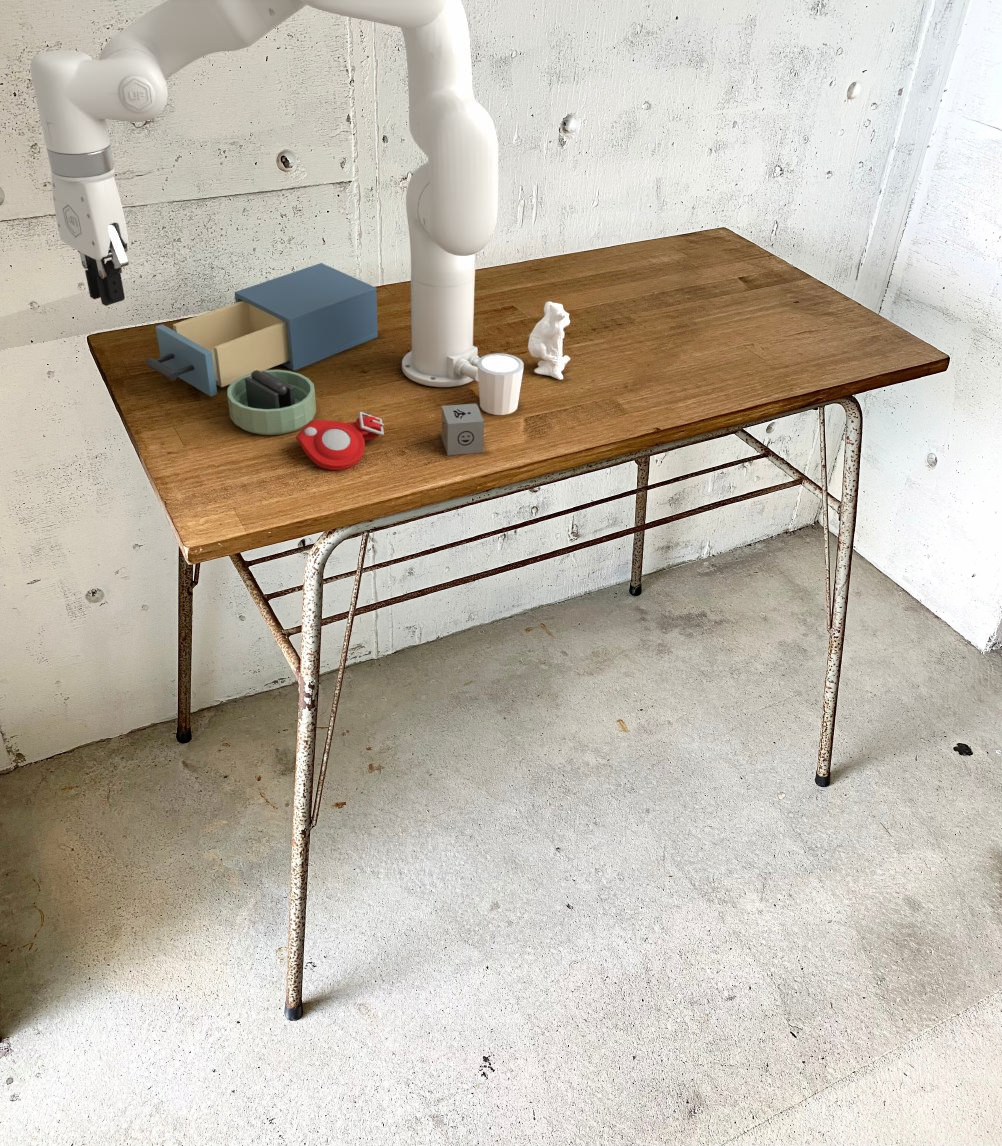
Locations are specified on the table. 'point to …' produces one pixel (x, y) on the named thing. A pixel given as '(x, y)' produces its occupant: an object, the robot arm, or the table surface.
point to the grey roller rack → (268, 391)
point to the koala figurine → (550, 341)
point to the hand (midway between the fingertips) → (107, 298)
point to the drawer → (221, 346)
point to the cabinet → (317, 311)
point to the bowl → (273, 418)
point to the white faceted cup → (499, 383)
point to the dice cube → (462, 429)
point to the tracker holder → (338, 440)
